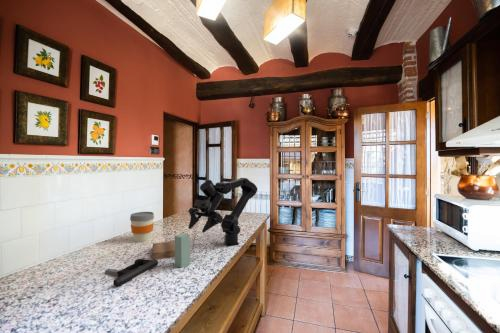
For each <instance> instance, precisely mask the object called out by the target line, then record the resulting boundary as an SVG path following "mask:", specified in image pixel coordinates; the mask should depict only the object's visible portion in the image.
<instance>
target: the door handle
mask: <svg viewBox="0 0 500 333" xmlns="http://www.w3.org/2000/svg"><path fill="white" fill-rule="evenodd" d="M158 264H159V261H158V259H154V260H153V259H146V258H137V259H135V261H134V262H133V264H130V265H128V266H126V267H124V268H123V269H120V270H119V269H112V268H107V269H105V270H104V274H106V275H109V276H113V277H117V278H116V279H114V280H113V281H112V283H113V285H114V287H121V286H123V285H125V284H126V283H129V282H130V281H134V280H136V279H138V278H140V277H142V276H144V275H145V274H146V273H148V272H150V270H152V269H155V267H157V266H158Z"/></svg>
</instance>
